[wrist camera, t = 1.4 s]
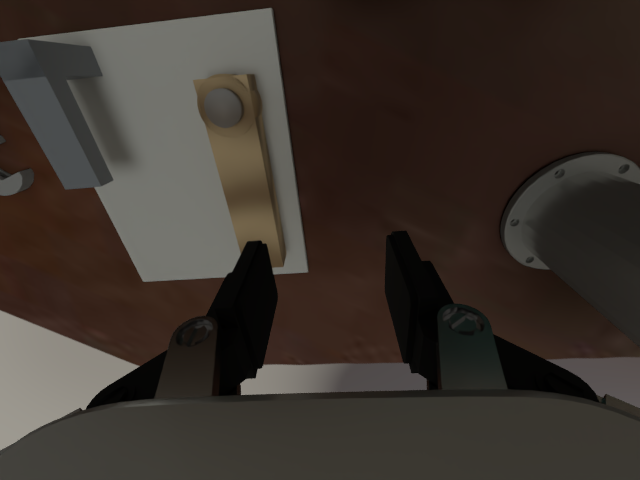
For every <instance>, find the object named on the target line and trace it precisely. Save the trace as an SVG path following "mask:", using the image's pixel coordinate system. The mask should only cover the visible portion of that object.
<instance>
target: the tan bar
mask: <svg viewBox="0 0 640 480" xmlns="http://www.w3.org/2000/svg"><path fill="white" fill-rule="evenodd" d="M193 83H194V87H195V90H196V94H197V106H198V110H199V113H200V116H201V118H202V120H203V121H204V123H205V126H206V130H207V133H208V137H209V141H210V144H211V148H212V152H213V155H214V159H215V162H216V166H217V170H218V173H219V177H220V180H221V184H222V188H223V191H224V195H225V198H226V202H227V206H228V209H229V213H230V217H231V220H232V224H233V227H234V231H235V235H236V238H237V242H238V245H239V249H240V253H242V251H243V249H244V247H245V245H246V243H247V241H258V240H261V241H262V243H263V244H264V243H266V244H267V247H268V251H269V256H270V261H271V265H272V268H275V267H284V263H285V258H286V254H287V253H286V247H285V242H284V236H283V231H282V225H281V220H280V214H279V208H278V203H277V197H276V192H275V186H274V180H273V175H272V169H271V164H270V158H269V152H268V147H267V141H266V136H265V130H264V125H263V119H262V100H261V97H260V94H259V92H258V90H257V85H256V80H255V74H244V75H237V74H216V75H213V76H210V77H209V78H207V79H197V80H193Z"/></svg>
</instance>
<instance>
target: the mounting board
mask: <svg viewBox="0 0 640 480" xmlns="http://www.w3.org/2000/svg"><path fill="white" fill-rule="evenodd" d="M216 74H237V75H244V74H255V80H256V85H257V90H258V92H259V94H260V97H261V100H262V119H263V125H264V130H265V136H266V141H267V147H268V152H269V158H270V164H271V169H272V175H273V180H274V186H275V192H276V197H277V203H278V208H279V214H280V220H281V225H282V231H283V236H284V242H285V247H286V253H287V254H286V258H285V263H284V267H275V268H272V270H273V274H287V273H304V272H308V262H307V254H306V247H305V240H304V232H303V225H302V218H301V210H300V203H299V196H298V188H297V181H296V174H295V166H294V159H293V152H292V144H291V137H290V130H289V122H288V115H287V108H286V101H285V93H284V86H283V79H282V71H281V64H280V57H279V49H278V42H277V35H276V27H275V20H274V13H273V9H272V8H267V9H259V10H251V11H243V12H234V13H226V14H218V15H210V16H202V17H193V18H185V19H177V20H169V21H161V22H153V23H144V24H136V25H128V26H120V27H112V28H104V29H95V30H87V31H79V32H71V33H63V34H55V35H46V36H38V37H30V38H22V39H18V40H15V41H7V42H0V76H1V78H2V79H3V81H4V83H5V85H6V86H7V88H8V90H9V92H10V93H11V95H12V97H13V99H14V100H15V102H16V104H17V106H18V107H19V109H20V111H21V113H22V114H23V116H24V118H25V120H26V121H27V123H28V125H29V126H30V128H31V130H32V132H33V133H34V135H35V137H36V139H37V140H38V142H39V144H40V146H41V147H42V149H43V151H44V153H45V154H46V156H47V158H48V160H49V161H50V163H51V165H52V167H53V168H54V170H55V172H56V174H57V175H58V177H59V179H60V181H61V182H62V184H63V186H64V188H65V189H77V188H89V187H95V189H96V191H97V193H98V195H99V197H100V199H101V201H102V203H103V205H104V207H105V209H106V211H107V213H108V214H109V216H110V218H111V220H112V222H113V224H114V226H115V228H116V230H117V232H118V234H119V236H120V238H121V240H122V242H123V244H124V245H125V247H126V249H127V251H128V253H129V255H130V257H131V259H132V261H133V263H134V265H135V267H136V269H137V271H138V273H139V275H140V276H141V278H142V280H143V282H148V281H165V280H183V279H200V278H217V277H226V275H227V274H228V273H230V272H232V271H233V269H234V267H235V265H236V263H237V261H238V259H239V257H240V255H241V253H240V249H239V245H238V242H237V238H236V235H235V231H234V227H233V224H232V220H231V217H230V213H229V209H228V206H227V202H226V198H225V195H224V191H223V188H222V184H221V180H220V177H219V173H218V170H217V166H216V162H215V159H214V155H213V152H212V148H211V144H210V141H209V137H208V133H207V130H206V126H205V123H204V121H203V120H202V118H201V116H200V113H199V110H198V106H197V94H196V90H195V87H194V83H193V80H197V79H207V78H209V77H210V76H213V75H216Z"/></svg>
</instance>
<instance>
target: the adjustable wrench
mask: <svg viewBox="0 0 640 480" xmlns="http://www.w3.org/2000/svg"><path fill="white" fill-rule="evenodd" d="M5 141H6V140H5V139H4V138H3V137H2V136H1V135H0V144H2V143H3V142H5ZM33 181H34V173H33V171H32V169H31V168H30V169H27V170H24V171H20V172H18V173H16V174H14V175H11V174H9V173H7V172H5V171H3V170H2V169H0V195H5V196H6V195H12V194H15V193H18V192H20V191H23V190H26V189H27V188H29V187H30V186H31V184H32V183H33Z"/></svg>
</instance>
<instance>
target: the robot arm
mask: <svg viewBox="0 0 640 480" xmlns="http://www.w3.org/2000/svg"><path fill="white" fill-rule="evenodd" d="M500 234H501V241H502V243H503V245H504V247H505V249H506V250H507V251H508V253H509V254H510V255H511V256H512V257H513V258H515V259H516V260H517V261H518V262H520V263H521V264H523V265H525V266H528V267H532V268H535V269H545V270H547V269H551V270H552V271H553V272H554V273H555V274H556V275H558V276H559V277H560V278H561V279H562V280H563V281H564V282H566V283H567V284H568V285H569V286H570V287H571V288H572V289H574V290H575V291H576V292H577V293H578V294H579V295H580V296H582V297H583V298H584V299H585V300H586V301H587V302H588V303H590V304H591V305H592V306H593V307H594V308H595V309H596V310H598V311H599V312H600V313H601V314H602V315H603V316H604V317H606V318H607V319H608V320H609V321H610V322H611V323H612V324H614V325H615V326H616V327H617V328H618V329H619V330H620V331H622V332H623V333H624V334H625V335H626V336H627V337H628V338H630V339H631V340H632V341H633V342H634V343H635V344H636V345H638V346H639V347H640V168H639V167H638V166H637V165H636V164H635V163H634V162H632V161H630V160H629V159H627V158H625V157H622V156H619V155H615V154H611V153H605V152H586V153H580V154H576V155H572V156H568V157H566V158H563V159H561V160H559V161H556V162H554V163H552V164H550V165H549V166H547V167H545V168H543V169H542V170H540V171H539V172H537V173H536V174H535V175H534V176H532V177H531V178H530V179H528V180H527V181H526V182H525V183H524V184H523V185H522V186H521V187H520V188H519V189H518V191H517V192H516V193H515V195H514V196H513V197H512V199H511V200H510V202H509V203H508V205H507V207H506V209H505V211H504V214H503V217H502V220H501V228H500ZM385 294H386V298H387V302H388V306H389V310H390V313H391V317H392V321H393V325H394V329H395V332H396V336H397V340H398V344H399V348H400V352H401V355H402V359H403V362H404V363H409V366H410V369H411V373H419V374H420V375H422V376H423V377H425V378H426V379H427V390H409V391H365V392H330V393H297V394H295V393H294V394H265V395H262V394H261V395H241V385H240V383H241V382H243V381H244V380H245V379H248V378H256V373H257V369H260V368H262V366H263V362H264V358H265V354H266V349H267V345H268V340H269V336H270V331H271V327H272V323H273V318H274V314H275V309H276V305H277V300H278V293H277V288H276V284H275V279H274V274H273V270H272V265H271V261H270V256H269V251H268V247H267V244H266V243H264V244H263V243H262V241H261V240H258V241H247V243H246V245H245V247H244V249H243V251H242V253H241V255H240V257H239V259H238V261H237V263H236V265H235V267H234V269H233V271H232V272H230V273H228V274H227V275H226V277H225V279H224V281H223V283H222V285H221V287H220V289H219V291H218V293H217V295H216V297H215V299H214V301H213V303H212V305H211V307H210V309H209V311H208V313H207V315H206V316H199V317H195V318H192V319H189V320H188V321H186V322H184V323H183V324H181V325H180V326H179V327H178V328H177V329H176V330H175V331H174V332H173V334H172V337H171V339H170V343H169V346H168V350H166V351H165V352H163V353H161V354H160V355H158V356H156V357H155V358H153V359H151V360H150V361H148V362H147V363H145V364H143V365H142V366H140V367H138V368H137V369H135V370H133V371H132V372H130V373H129V374H127V375H125V376H124V377H122V378H120V379H119V380H117V381H115V382H114V383H112V384H110V385H109V386H107V387H106V388H105V389H103V390H102V391H100V392H99V393H98V394H97V395H96V396H95V397H94V398H93V399H92V401H91V402H90V403H89V405H88V406H87V408H86V410H82V409H81V408H79V409H77V410H75V411H73V412H71V413H70V414H68V415H66V416H64V417H62V418H60V419H57V420H55V421H52V422H50V423H48V424H46V425H44V426H42V427H40V428H38V429H36V430H34V431H32V432H30V433H29V434H27V435H26V436H24V437H23V438H21V439H20V440H18V441H17V442H15V443H14V444H12V445H10V446H8V447H6V448H4V449H2V450H1V451H0V480H640V408H638V407H635V406H633V405H630V404H628V403H626V402H624V401H621V400H619V399H617V398H614V397H612V396H609V395H607V394H605V396H604V398H603V397H600V396H598V395H596V393H595V392H594V391H593V390H592V389H591V388H590V386H589V385H588V384H587V383H585V382H584V381H583V380H582V379H581V378H579V377H578V376H576V375H574V374H573V373H571V372H569V371H568V370H566V369H563V368H561V367H559V366H557V365H555V364H553V363H551V362H549V361H547V360H545V359H543V358H541V357H539V356H537V355H535V354H533V353H531V352H529V351H527V350H525V349H523V348H520V347H518V346H516V345H514V344H512V343H510V342H508V341H506V340H504V339H502V338H500V337H498V336H496V335H494V334H493V333H492V329H491V325H490V323H489V321H488V319H487V318H486V317H485V316H484V315H483V313H481V312H480V311H478V310H477V309H475V308H472V307H470V306H467V305H463V304H454V303H453V301H452V299H451V297H450V295H449V293H448V292H447V290H446V288H445V286H444V284H443V283H442V281H441V279H440V277H439V275H438V273H437V272H436V270H435V268H434V266H433V264H432V263H431V262H430V261H421V259H420V257H419V255H418V253H417V251H416V249H415V247H414V245H413V243H412V241H411V239H410V237H409V235H408V233H407V231H394V232H392V233H391V235H387V238H386V267H385Z"/></svg>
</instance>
